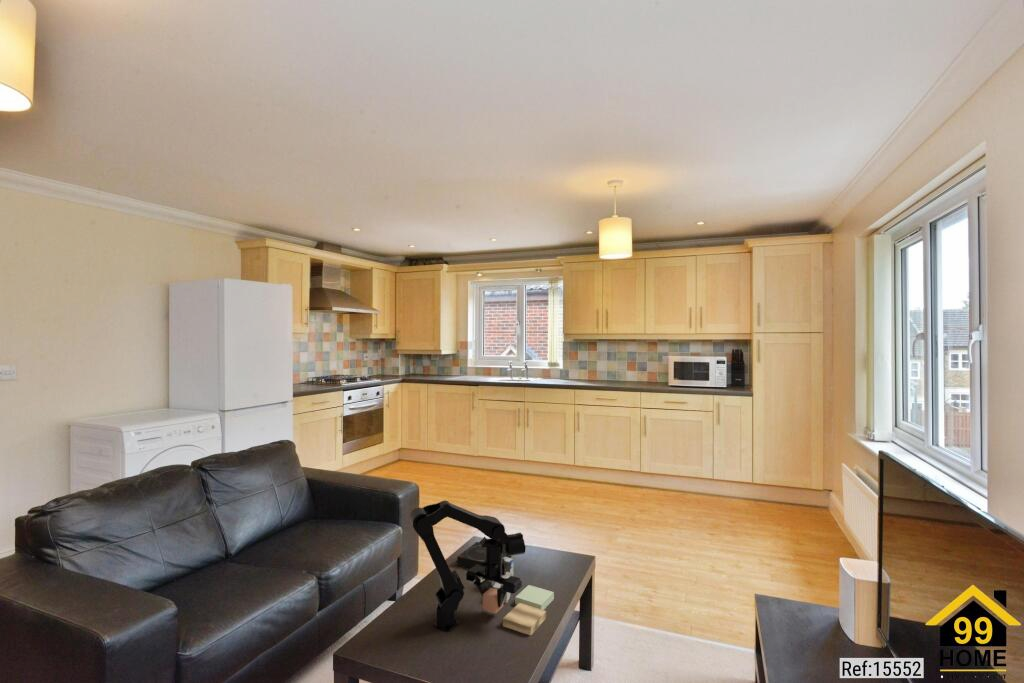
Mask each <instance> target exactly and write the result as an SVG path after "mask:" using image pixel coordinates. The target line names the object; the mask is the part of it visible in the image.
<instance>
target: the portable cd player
mask: <svg viewBox="0 0 1024 683" xmlns="http://www.w3.org/2000/svg"><path fill="white" fill-rule="evenodd" d="M479 542H480V541H476V542H474V543H473V544H472V545H471V546H469V547H468V548H467V549H465V550H464V551H463V552H461V553H460V554H459V555H457V556H456V559H457V560H456V561H457V562H456V563H457V564H456V566H459V567H462V568H467V569H471V568H472V567H474V566H479V567H482V568H484V569H485V566H484V565H483V562H484V561H485V547H482V546H481V545H480V543H479ZM503 557H508V558H511V559H512V556H507V555H506V553H504V552H503V551H502V558H503Z"/></svg>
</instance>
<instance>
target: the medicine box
mask: <svg viewBox="0 0 1024 683" xmlns="http://www.w3.org/2000/svg"><path fill="white" fill-rule="evenodd" d="M502 559H504V560H505V561H508V562H511V569H510V573H509V572H506V575H504V576H502V578H509V577H510V576H514V564H515V563H514V559H513V558H512V557H511V558H508V557H503V558H502ZM494 585H495V582H492V581H491V587H493V586H494Z"/></svg>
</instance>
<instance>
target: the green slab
mask: <svg viewBox="0 0 1024 683" xmlns="http://www.w3.org/2000/svg"><path fill="white" fill-rule="evenodd" d="M554 598H555V591H551V590H547V589H544V588H540V587H538V586H534V585H530V584H528V585H527V586H525V588H524V589H522V591H520V592H519V593H518V594H517V595H516V596H515V598H514V599H515V600H514V601H515V602H514V604H515V606H517V605H518V604H519V603H522V604H525V605H528V606H532V607H535V608H538V609H541V610H546V608H547V607H548V606H549V605H550V604H551V602H553V601H554Z"/></svg>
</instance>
